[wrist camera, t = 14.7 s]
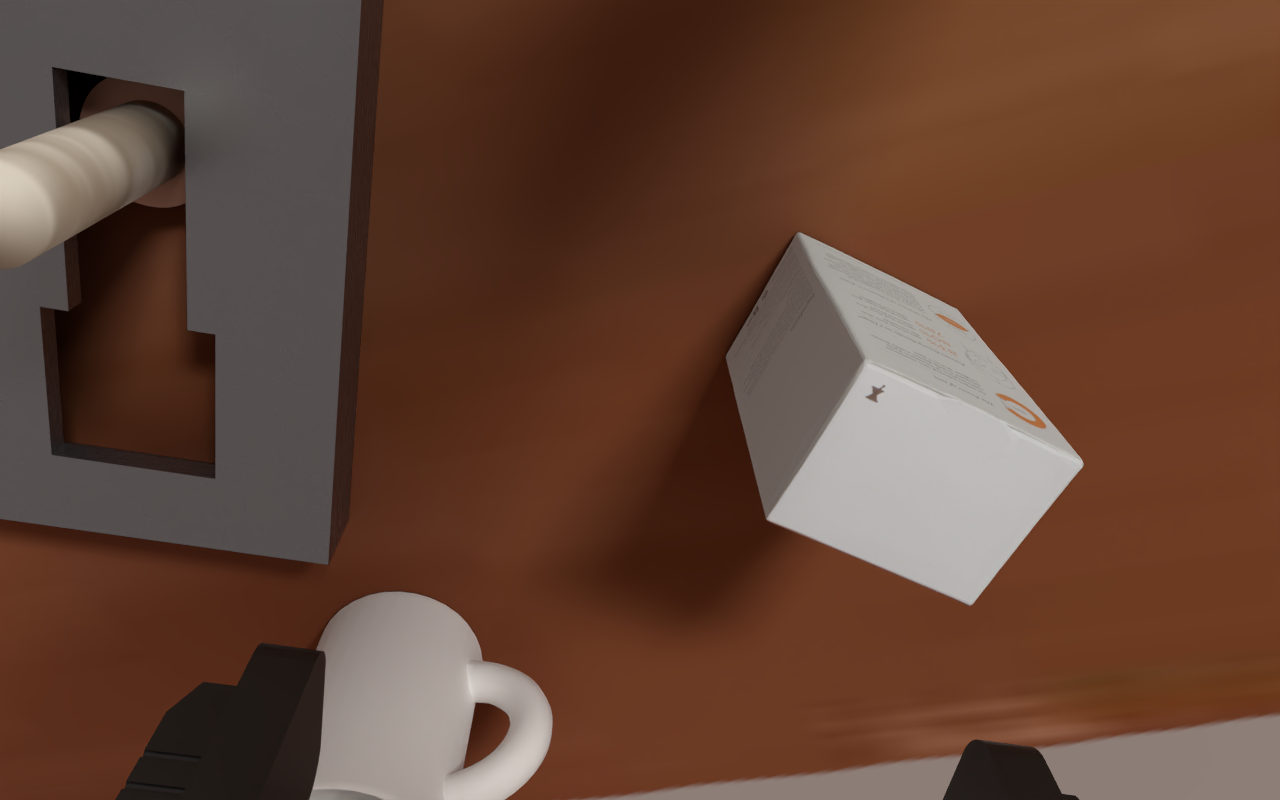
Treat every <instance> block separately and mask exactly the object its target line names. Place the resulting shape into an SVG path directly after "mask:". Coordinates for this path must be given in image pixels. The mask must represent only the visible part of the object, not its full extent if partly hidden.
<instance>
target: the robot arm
mask: <svg viewBox="0 0 1280 800" xmlns="http://www.w3.org/2000/svg"><path fill="white" fill-rule="evenodd" d="M325 669H326V656H325V652H324V651H319V650H311V649H304V648H296V647H289V646H281V645H273V644H266V643H261V644H260V645H258V647H257V648H256V650H255V651H254V653H253V655H252V657H251V659H250V661H249V663H248V665H247V667H246V669H245V671H244V673H243V675H242V677H241V679H240V681H239V683H238V685H237V686H231V685H224V684H216V683H208V682H203V683H202V684H200V685H199V686H198V687H197V688H195V689H194V690H193V691H192V692H190V693H189V694H188V695H187V696H185V697H184V698H183V699H182V700H180V701H179V702H178V703H177V704H176V705H174V706H173V707H172V708H171V709H169V710H168V711H167V712H166V713H165V715H164V717H163V719H162V720H161V722H160V724H159V725H158V727H157V729H156V731H155V732H154V734H153V736H152V738H151V739H150V741H149V743H148V745H147V746H146V748H145V751H144V755H143V757H140V758H139V760H138V762H137V764H136V765H135V767H134V769H133V771H132V772H131V774H130V776H129V778H128V779H127V782H126V786H125V788H124V789H122V790H121V791H120V793H119V795H118V797H117V798H116V800H309V799H310V796H311V792H312V789H313V785H314V781H315V777H316V772H317V767H318V762H319V756H320V748H321V735H322V718H323V702H324V685H325ZM943 800H1079V799H1078V798H1077V797H1076V796H1074V795H1066V794H1062V793H1061V791H1060V789H1059V788H1058V785H1057V783H1056V781H1055V780H1054V777H1053V775H1052V773H1051V771H1050V769H1049V767H1048V765H1047V764H1046V761H1045V759H1044V758H1043V756H1042V754H1040V752H1039V751H1038V750H1037V749H1035V748H1033V747H1030V746H1022V745H1014V744H1007V743H999V742H992V741H984V740H973V741H971V742H970V743H969V744H968V745H967V746H966V748H965V750H964V752H963V754H962V757H961V759H960V762H959V764H958V766H957V768H956V771H955V773H954V775H953V778H952V780H951V782H950V784H949V787H948V789H947V791H946V794H945V796H944V798H943Z"/></svg>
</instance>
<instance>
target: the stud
mask: <svg viewBox="0 0 1280 800" xmlns="http://www.w3.org/2000/svg"><path fill="white" fill-rule="evenodd" d="M131 202H136V203H139V204H142V205H146V206H150V207H158V208H168V207H175V206H179V205H182V204H185V203H186V183H185V107H184V91H183V90H177V89H172V88H166V87H161V86H155V85H150V84H144V83H138V82H133V81H127V80H122V79H116V78H111V77H108V78H106V79H104V80H103V81H101V82H100V83H98V84H97V85H96V86H95V87H94V88H93V89H92V90H91V92H90V93H89V95H88V96H87V98H86V100H85V102H84V104H83V107H82V110H81V115H80V120H78V121H76V122H73V123H70V124H67V125H65V126H62V127H59V128H57V129H54V130H51V131H49V132H46V133H43V134H40V135H38V136H35V137H32V138H30V139H27V140H24V141H22V142H19V143H16V144H14V145H11V146H8V147H5V148H3V149H0V270H6V269H13V268H16V267H19V266H21V265H24V264H26V263H27V262H29V261H31V260H32V259H34V258H36V257H38V256H39V255H41V254H43V253H45V252H46V251H48V250H50V249H51V248H53V247H55V246H57V245H58V244H60V243H62V242H64V241H65V240H67V239H69V238H71V237H72V236H74V235H76V234H77V233H79V232H81V231H83V230H84V229H86V228H88V227H90V226H91V225H93V224H95V223H97V222H98V221H100V220H102V219H103V218H105V217H107V216H109V215H110V214H112V213H114V212H116V211H117V210H119V209H121V208H123V207H124V206H126V205H128V204H129V203H131Z"/></svg>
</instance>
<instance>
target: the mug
mask: <svg viewBox="0 0 1280 800" xmlns="http://www.w3.org/2000/svg"><path fill="white" fill-rule="evenodd" d="M316 650H319V651H324V652H325V656H326V669H325V685H324V702H323V718H322V735H321V748H320V756H319V762H318V767H317V772H316V777H315V781H314V785H313V789H312V792H311V796H310V799H309V800H505V799H506V798H508V797H509V796H510V795H512V794H513V793H515V792H516V791H517V790H518V789H519V788H520V787H522V786H523V785H524V784H525V783H526V782H527V781H528V780H529V779H530V777H531V776H532V775H533V774H534V773H535V772H536V770H537V769H538V767H539V766H540V765H541V763H542V761H543V759H544V757H545V755H546V753H547V751H548V748H549V745H550V740H551V734H552V712H551V707H550V705H549V703H548V700H547V698H546V697H545V695H544V693H543V692H542V690H541V689H540V687H539V686H538V685H537V684H536V683H535V682H534V681H533V680H532V679H531V678H530V677H528V676H527V675H526V674H524V673H522V672H520V671H518V670H516V669H514V668H511V667H508V666H505V665H502V664H498V663H493V662H487V661H482V654H481V649H480V646H479V643H478V641H477V638H476V636H475V634H474V633H473V631H472V630H471V628H470V627H469V625H468V624H467V622H466V621H465V620H464V619H463V618H462V617H461V616H460V615H459V614H458V613H456V612H455V611H454V610H452V609H451V608H449V607H448V606H446V605H445V604H443V603H441V602H439V601H436V600H434V599H432V598H430V597H426V596H423V595H419V594H416V593H408V592H400V591H399V592H381V593H376V594H371V595H368V596H365V597H363V598H360V599H358V600H355V601H353V602H352V603H350V604H349V605H347V606H345V607H344V608H342V609H341V610H340V611H339V612H338V613H337V614H336V615H335V616H334V617H333V618H332V619H331V620H330V621H329V623H328V625H327V626H326V628H325V630H324V632H323V634H322V637H321V639H320V641H319V644H318V646H317V648H316ZM475 703H489V704H492V705H494V706H497V707H498V708H500V709H502V710H503V711H504V712H506V713H507V715H508V716H509V719H510V728H509V730H508V733H507V735H506V736H505V738H504V740H503V741H502V742H501V744H500V745H499V746H498V747H497V748H496V749H495V750H494V751H493V752H492V753H491V754H490V755H488V756H487V757H485V758H484V759H482V760H481V761H479V762H477V763H475V764H474V765H472V766H470V767H467V768H465V769H463V767H464V761H465V756H466V751H467V745H468V740H469V735H470V730H471V724H472V719H473V714H474V708H475Z"/></svg>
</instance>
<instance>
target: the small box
mask: <svg viewBox="0 0 1280 800" xmlns="http://www.w3.org/2000/svg"><path fill="white" fill-rule="evenodd" d="M726 361H727V365H728V369H729V373H730V376H731V380H732V384H733V388H734V394H735V398H736V402H737V406H738V410H739V414H740V418H741V422H742V425H743V429H744V434H745V437H746V442H747V445H748V449H749V453H750V457H751V461H752V465H753V469H754V473H755V477H756V481H757V485H758V489H759V493H760V497H761V501H762V505H763V509H764V513H765V518H766V520H767V521H768V522H770V523H773V524H775V525H777V526H780V527H782V528H785V529H787V530H789V531H792V532H794V533H797V534H799V535H802V536H804V537H806V538H809V539H811V540H814V541H816V542H818V543H821V544H823V545H825V546H828V547H830V548H832V549H835V550H837V551H840V552H842V553H844V554H847V555H849V556H852V557H854V558H857V559H859V560H862V561H864V562H866V563H868V564H871V565H873V566H876V567H878V568H881V569H883V570H885V571H887V572H890V573H892V574H894V575H897V576H899V577H902V578H904V579H907V580H909V581H912V582H914V583H916V584H919V585H921V586H924V587H926V588H928V589H931V590H933V591H935V592H938V593H940V594H942V595H945V596H947V597H950V598H952V599H955V600H957V601H959V602H962V603H964V604H966V605H968V606H969V605H972V604H973V603H974V602H975V600H976V599H977V598H978V597H979V595H980V594H981V593H982V591H983V590H984V589H985V588H986V586H987V585H988V584H989V583H990V581H991V580H992V579H993V578H994V576H995V575H996V574H997V572H998V571H999V570H1000V568H1001V567H1002V566H1003V565H1004V564H1005V562H1006V561H1007V560H1008V558H1009V557H1010V556H1011V555H1012V553H1013V552H1014V551H1015V550H1016V548H1017V547H1018V546H1019V545H1020V543H1021V542H1022V541H1023V540H1024V538H1025V537H1026V536H1027V534H1028V533H1029V532H1030V531H1031V529H1032V528H1033V527H1034V526H1035V524H1036V523H1037V522H1038V521H1039V519H1040V518H1041V517H1042V516H1043V514H1044V513H1045V512H1046V511H1047V510H1048V508H1049V507H1050V506H1051V505H1052V503H1053V502H1054V501H1055V500H1056V499H1057V497H1058V496H1059V495H1060V494H1061V492H1062V491H1063V490H1064V489H1065V487H1066V486H1067V485H1068V484H1069V483H1070V481H1071V480H1072V479H1073V478H1074V476H1075V475H1076V474H1077V473H1078V472H1079V471H1080V470H1081V468H1082V467H1083V465H1084V464H1083V461H1082V459H1081V458H1080V457H1079V456H1078V454H1077V453H1076V452H1075V451H1074V450H1073V448H1072V447H1071V446H1070V445H1069V443H1068V442H1067V441H1066V440H1065V439H1064V437H1063V436H1062V435H1061V434H1060V432H1059V431H1058V430H1057V429H1056V428H1055V426H1054V425H1053V424H1052V423H1051V422H1050V421H1049V420H1048V418H1047V417H1046V416H1045V415H1044V413H1043V412H1042V411H1041V410H1040V409H1039V407H1038V406H1037V405H1036V404H1035V403H1034V401H1033V400H1032V399H1031V398H1030V397H1029V395H1028V394H1027V393H1026V392H1025V391H1024V389H1023V388H1022V387H1021V386H1020V385H1019V383H1018V382H1017V381H1016V380H1015V378H1014V377H1013V376H1012V375H1011V373H1010V372H1009V371H1008V370H1007V369H1006V368H1005V366H1004V365H1003V364H1002V363H1001V362H1000V361H999V359H998V358H997V357H996V356H995V355H994V354H993V352H992V351H991V350H990V349H989V348H988V346H987V345H986V344H985V343H984V342H983V340H982V339H981V338H980V337H979V335H978V334H977V333H976V332H975V331H974V329H973V328H972V327H971V326H970V324H969V323H968V322H967V321H966V320H965V318H964V317H963V316H962V315H961V313H960V312H959V311H958V310H957V309H955V308H953V307H951V306H949V305H947V304H946V303H944V302H942V301H940V300H938V299H936V298H934V297H932V296H930V295H928V294H926V293H924V292H922V291H920V290H918V289H916V288H914V287H912V286H910V285H908V284H906V283H904V282H902V281H900V280H898V279H896V278H894V277H892V276H890V275H888V274H885V273H883V272H881V271H879V270H877V269H875V268H873V267H871V266H869V265H867V264H865V263H863V262H861V261H859V260H857V259H855V258H853V257H851V256H849V255H846V254H844V253H842V252H840V251H838V250H836V249H834V248H832V247H830V246H828V245H826V244H824V243H822V242H820V241H817V240H815V239H813V238H811V237H809V236H807V235H804V234H802V233H797V234H796V235H795V236H794V238H793V240H792V242H791V244H790V245H789V247H788V249H787V250H786V252H785V254H784V256H783V258H782V259H781V261H780V263H779V264H778V266H777V268H776V269H775V271H774V273H773V275H772V277H771V278H770V280H769V282H768V284H767V285H766V287H765V289H764V291H763V293H762V294H761V296H760V298H759V299H758V301H757V303H756V305H755V307H754V308H753V310H752V312H751V314H750V315H749V317H748V319H747V321H746V322H745V324H744V326H743V327H742V329H741V331H740V332H739V334H738V336H737V337H736V339H735V341H734V343H733V344H732V346H731V348H730V349H729V351H728V353H727V355H726Z"/></svg>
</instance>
